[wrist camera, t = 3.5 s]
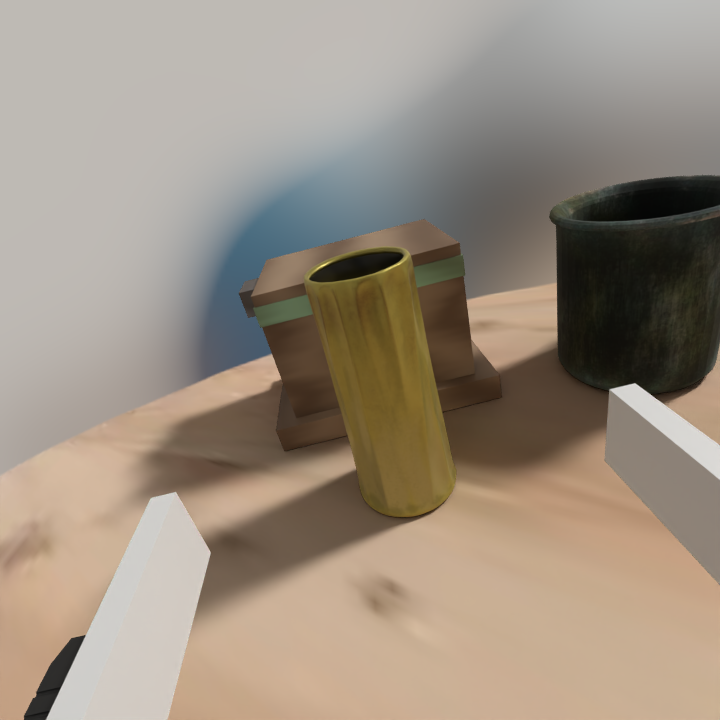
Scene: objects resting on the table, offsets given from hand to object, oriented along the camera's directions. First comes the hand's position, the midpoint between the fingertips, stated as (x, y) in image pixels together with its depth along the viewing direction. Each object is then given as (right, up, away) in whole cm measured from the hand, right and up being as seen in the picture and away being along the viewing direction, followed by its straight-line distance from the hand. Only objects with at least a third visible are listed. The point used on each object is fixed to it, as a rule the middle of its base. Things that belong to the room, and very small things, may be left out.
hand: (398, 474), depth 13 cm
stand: (+1, +1, +24) cm, 25 cm away
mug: (+21, +4, +21) cm, 29 cm away
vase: (+2, -4, +14) cm, 15 cm away
